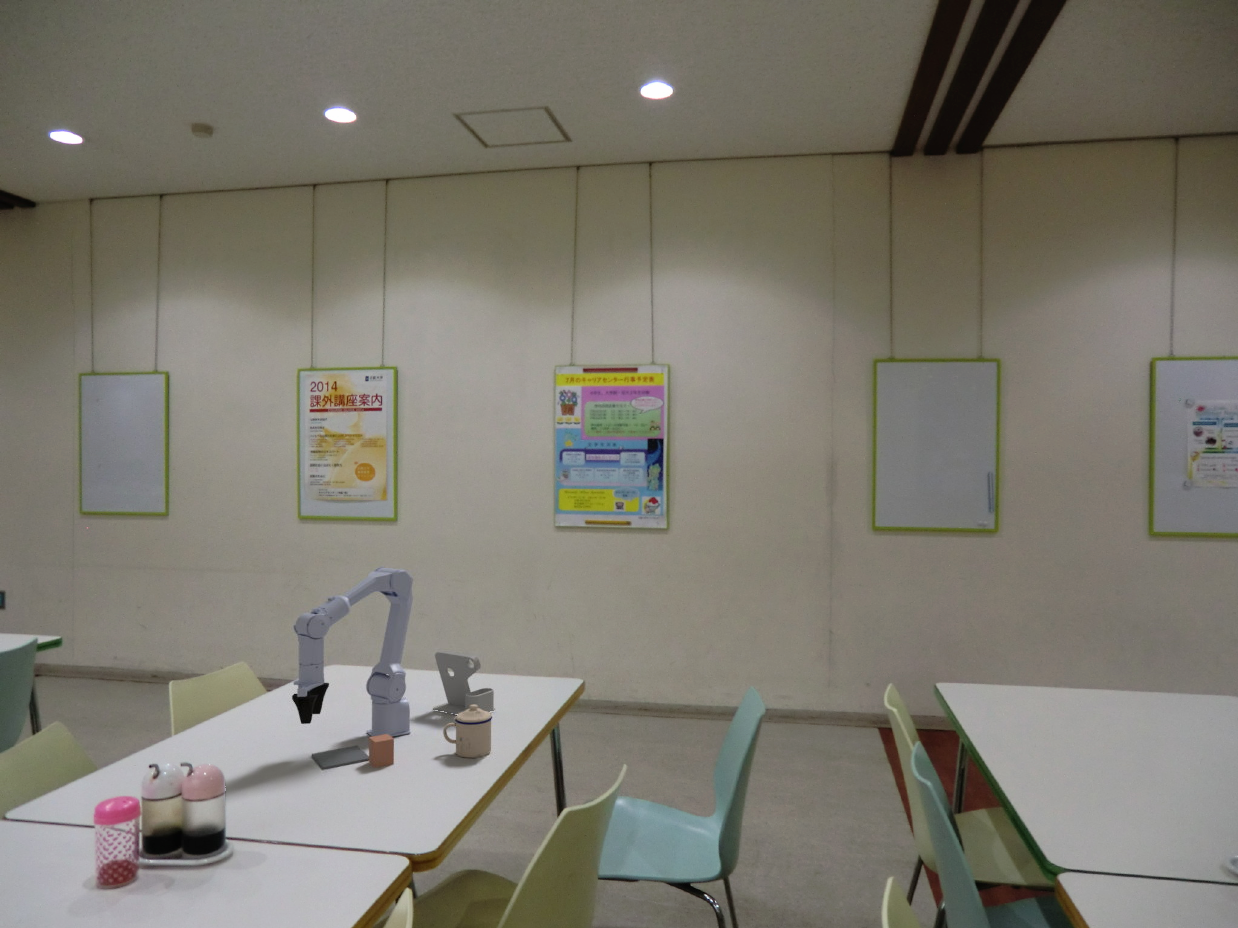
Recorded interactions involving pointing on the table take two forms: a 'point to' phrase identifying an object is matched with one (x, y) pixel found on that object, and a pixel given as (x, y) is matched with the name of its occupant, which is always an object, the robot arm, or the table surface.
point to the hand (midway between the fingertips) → (310, 718)
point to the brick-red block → (381, 750)
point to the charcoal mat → (340, 757)
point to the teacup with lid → (471, 733)
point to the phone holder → (461, 683)
